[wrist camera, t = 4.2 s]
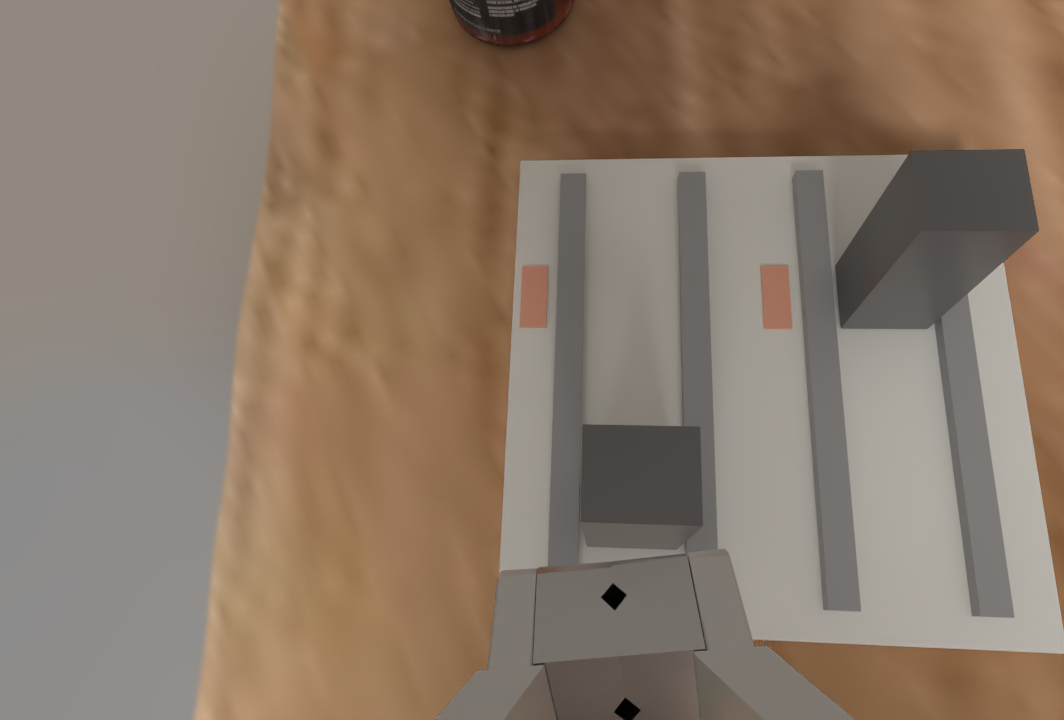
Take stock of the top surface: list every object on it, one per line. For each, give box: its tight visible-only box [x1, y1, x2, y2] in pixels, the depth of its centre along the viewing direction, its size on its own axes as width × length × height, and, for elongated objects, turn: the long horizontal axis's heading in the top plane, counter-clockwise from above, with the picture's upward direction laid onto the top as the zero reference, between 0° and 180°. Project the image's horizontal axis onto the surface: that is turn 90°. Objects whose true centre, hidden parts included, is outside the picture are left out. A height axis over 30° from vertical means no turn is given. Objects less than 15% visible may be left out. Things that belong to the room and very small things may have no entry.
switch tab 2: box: [835, 149, 1039, 329], centre depth 25 cm, size 2×3×8 cm
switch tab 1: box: [581, 424, 703, 550], centre depth 23 cm, size 2×3×8 cm
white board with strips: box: [499, 155, 1064, 654], centre depth 28 cm, size 18×18×3 cm
